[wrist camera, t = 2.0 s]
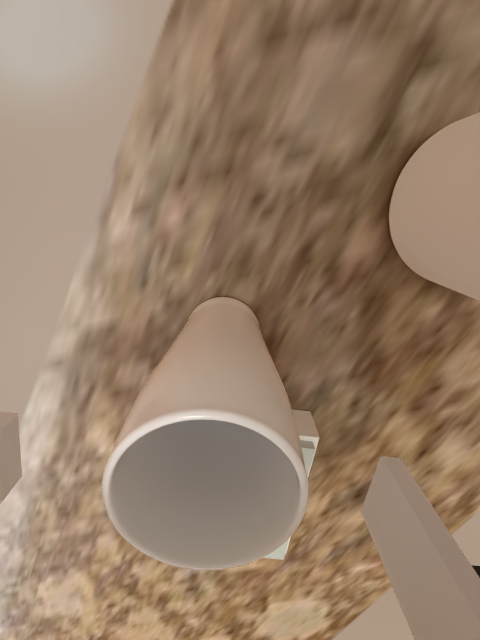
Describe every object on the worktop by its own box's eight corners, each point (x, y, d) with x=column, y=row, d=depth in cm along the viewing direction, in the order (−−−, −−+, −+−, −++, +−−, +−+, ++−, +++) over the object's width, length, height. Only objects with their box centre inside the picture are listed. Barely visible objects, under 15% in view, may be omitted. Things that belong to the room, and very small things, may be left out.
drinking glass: (216, 385, 26) (193, 600, 12) (158, 321, 24) (50, 487, 10) (287, 336, 25) (353, 514, 11) (231, 265, 23) (222, 366, 9)
